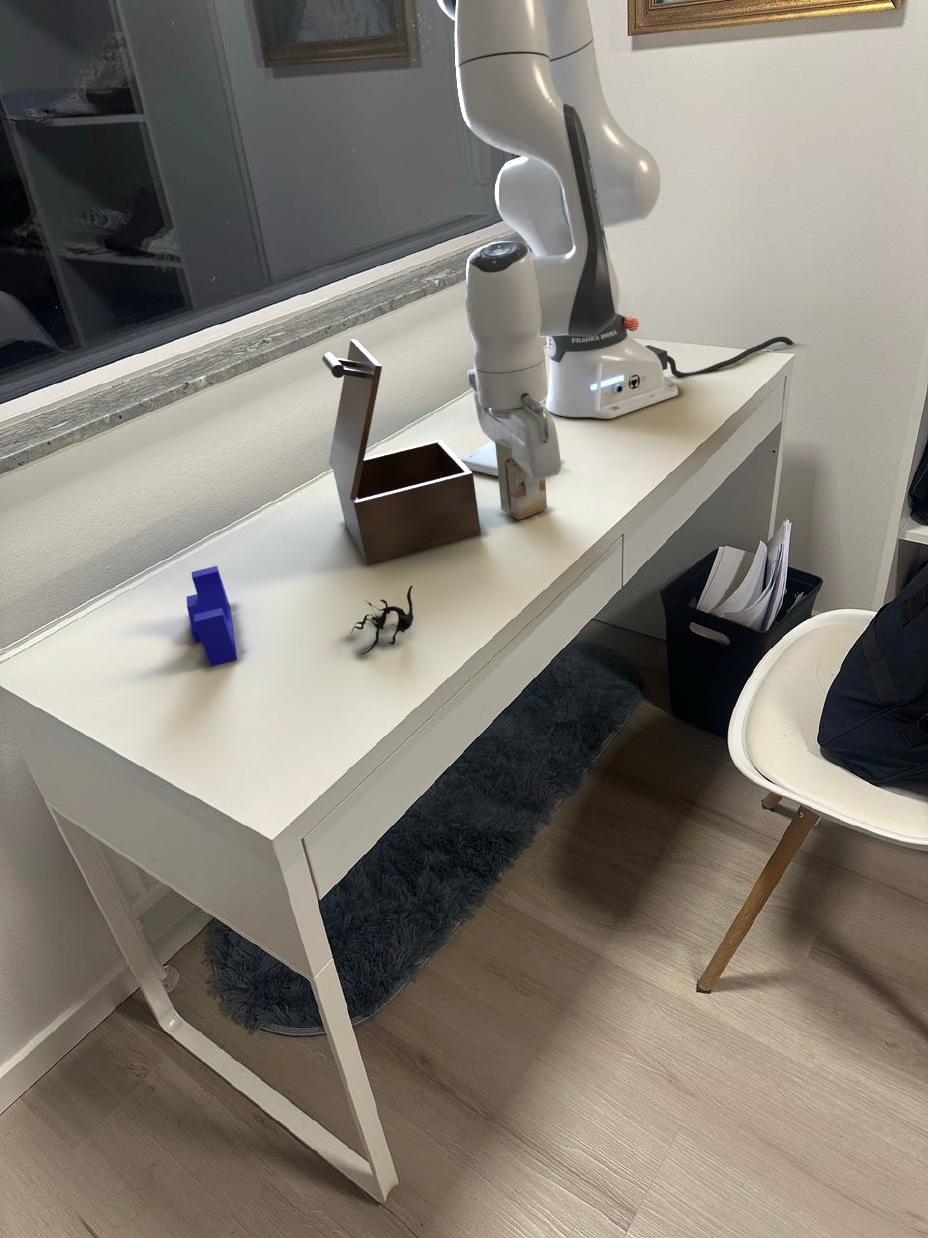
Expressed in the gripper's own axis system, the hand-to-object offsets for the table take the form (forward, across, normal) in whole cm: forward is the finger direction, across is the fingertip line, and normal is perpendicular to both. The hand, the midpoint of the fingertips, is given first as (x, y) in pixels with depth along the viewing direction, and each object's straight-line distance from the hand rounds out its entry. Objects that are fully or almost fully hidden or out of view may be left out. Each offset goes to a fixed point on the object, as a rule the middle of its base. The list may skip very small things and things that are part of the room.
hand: (522, 484), depth 118 cm
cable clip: (+4, -10, +43) cm, 45 cm away
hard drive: (+4, +16, -4) cm, 17 cm away
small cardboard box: (+4, 0, 0) cm, 4 cm away
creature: (+4, -20, +25) cm, 33 cm away
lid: (-13, +4, +20) cm, 24 cm away
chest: (+4, +4, +15) cm, 16 cm away
